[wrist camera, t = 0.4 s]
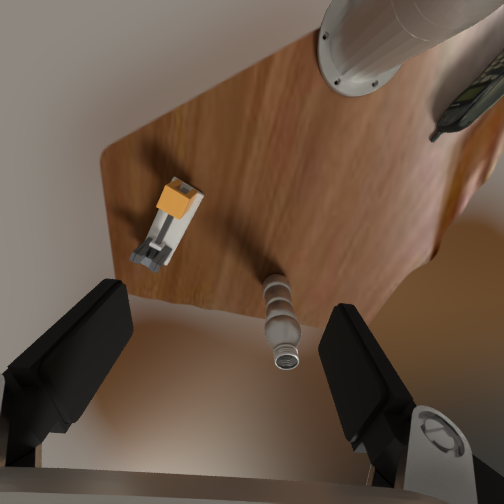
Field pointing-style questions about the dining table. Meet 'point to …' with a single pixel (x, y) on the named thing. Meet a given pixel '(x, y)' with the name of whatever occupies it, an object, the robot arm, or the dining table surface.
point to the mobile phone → (474, 99)
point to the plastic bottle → (281, 321)
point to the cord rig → (165, 235)
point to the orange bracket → (176, 200)
